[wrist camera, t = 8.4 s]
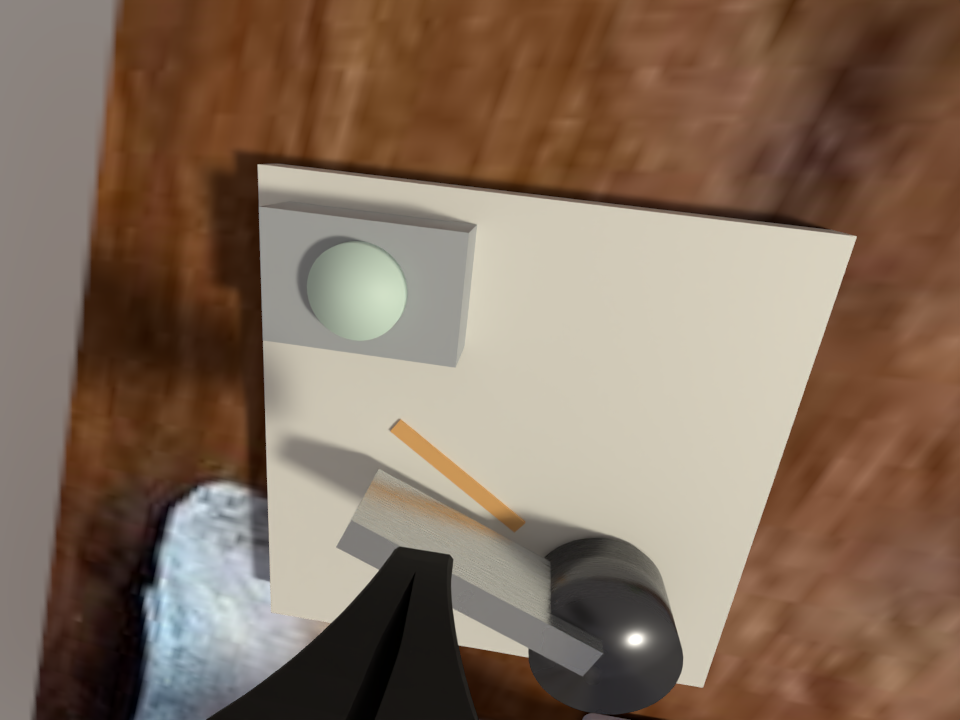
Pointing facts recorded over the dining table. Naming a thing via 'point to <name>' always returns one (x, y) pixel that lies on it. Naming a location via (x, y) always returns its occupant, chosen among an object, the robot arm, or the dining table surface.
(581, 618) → the knob
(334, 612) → the leveling plate
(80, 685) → the dining table surface
